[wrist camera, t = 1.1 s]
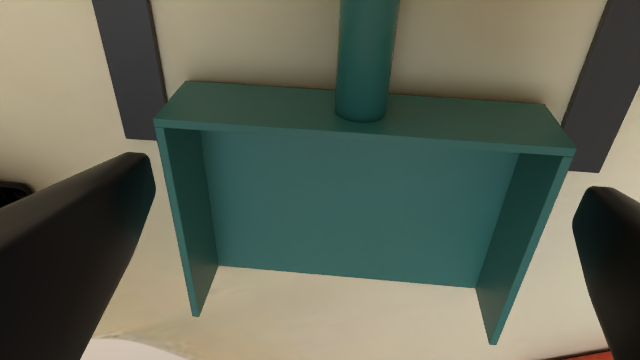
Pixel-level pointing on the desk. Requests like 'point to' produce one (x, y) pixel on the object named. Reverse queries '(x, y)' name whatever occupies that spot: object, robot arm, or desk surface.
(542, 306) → the desk surface
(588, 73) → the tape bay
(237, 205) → the dustpan
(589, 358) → the cracker box
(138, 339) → the desk surface
